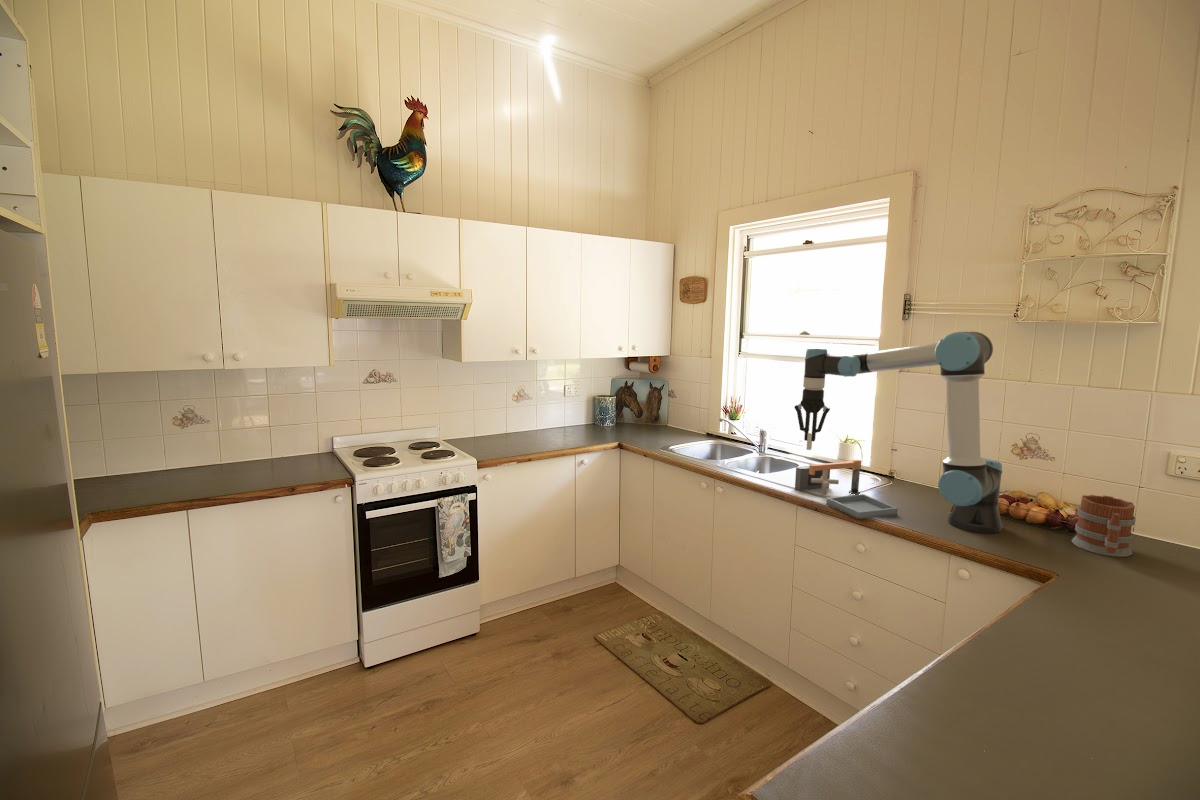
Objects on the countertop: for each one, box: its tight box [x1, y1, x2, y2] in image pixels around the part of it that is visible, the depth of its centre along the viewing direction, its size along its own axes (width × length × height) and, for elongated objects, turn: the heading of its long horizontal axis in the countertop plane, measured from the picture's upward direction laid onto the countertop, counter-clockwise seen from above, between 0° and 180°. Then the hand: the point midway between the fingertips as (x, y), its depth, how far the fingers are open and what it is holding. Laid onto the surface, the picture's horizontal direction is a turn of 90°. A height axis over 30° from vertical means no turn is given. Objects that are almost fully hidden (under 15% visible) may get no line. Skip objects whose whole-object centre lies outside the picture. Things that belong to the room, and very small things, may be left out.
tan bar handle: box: [809, 459, 862, 475], centre depth 220 cm, size 3×23×4 cm, turn 107°
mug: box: [1071, 494, 1136, 558], centre depth 170 cm, size 14×19×15 cm
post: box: [848, 468, 861, 495], centre depth 224 cm, size 4×4×10 cm
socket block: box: [794, 465, 831, 492], centre depth 231 cm, size 3×14×9 cm, turn 107°
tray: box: [825, 493, 899, 520], centre depth 206 cm, size 17×17×2 cm
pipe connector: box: [811, 470, 840, 495], centre depth 224 cm, size 10×10×10 cm
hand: (809, 449), depth 221 cm, fingers closed
